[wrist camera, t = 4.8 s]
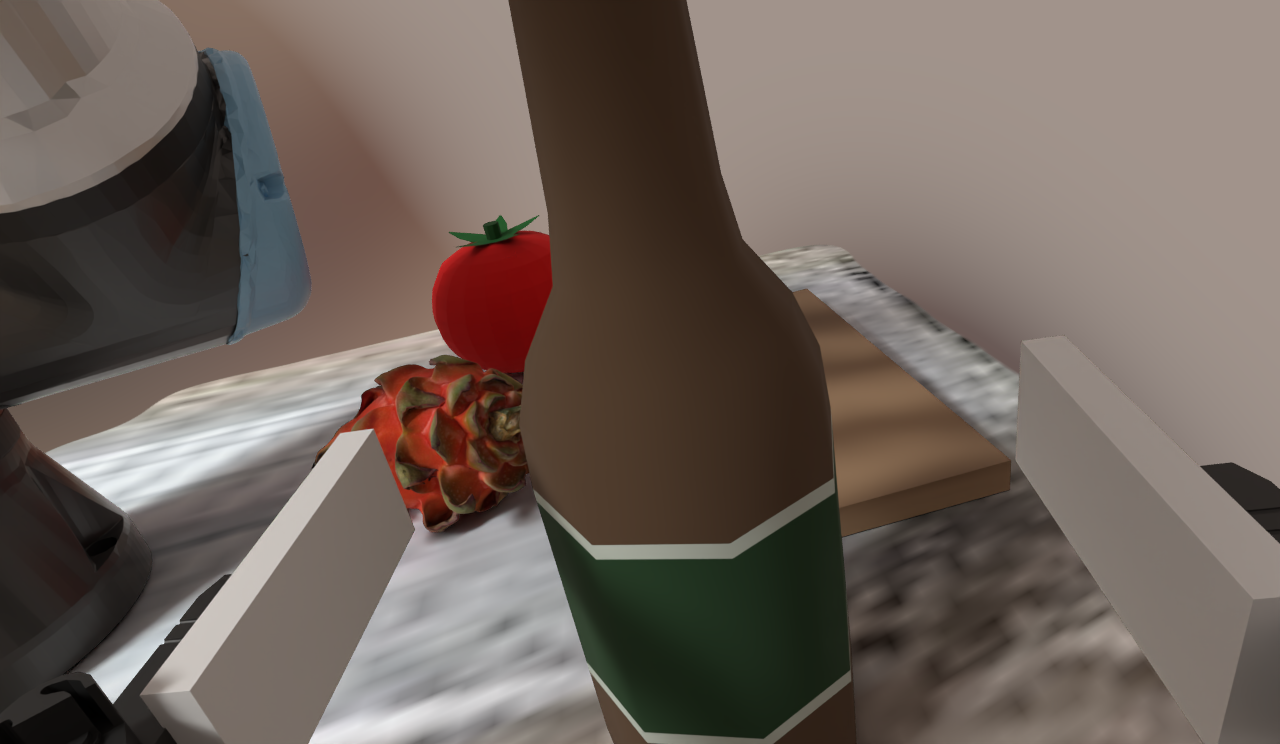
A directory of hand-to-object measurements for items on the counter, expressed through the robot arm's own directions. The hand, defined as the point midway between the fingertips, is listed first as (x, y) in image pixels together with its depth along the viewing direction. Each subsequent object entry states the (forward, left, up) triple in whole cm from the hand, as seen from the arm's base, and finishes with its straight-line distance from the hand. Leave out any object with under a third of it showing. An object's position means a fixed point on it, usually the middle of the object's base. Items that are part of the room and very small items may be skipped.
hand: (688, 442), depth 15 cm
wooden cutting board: (-6, +21, -13) cm, 26 cm away
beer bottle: (-1, +2, -13) cm, 13 cm away
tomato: (-24, +25, -13) cm, 38 cm away
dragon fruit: (-19, +10, -13) cm, 26 cm away
